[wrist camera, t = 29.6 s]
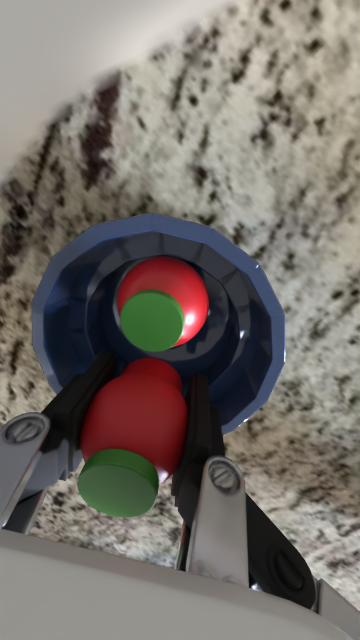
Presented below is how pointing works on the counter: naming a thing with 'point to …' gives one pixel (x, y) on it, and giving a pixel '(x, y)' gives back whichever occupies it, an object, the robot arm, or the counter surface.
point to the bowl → (187, 359)
